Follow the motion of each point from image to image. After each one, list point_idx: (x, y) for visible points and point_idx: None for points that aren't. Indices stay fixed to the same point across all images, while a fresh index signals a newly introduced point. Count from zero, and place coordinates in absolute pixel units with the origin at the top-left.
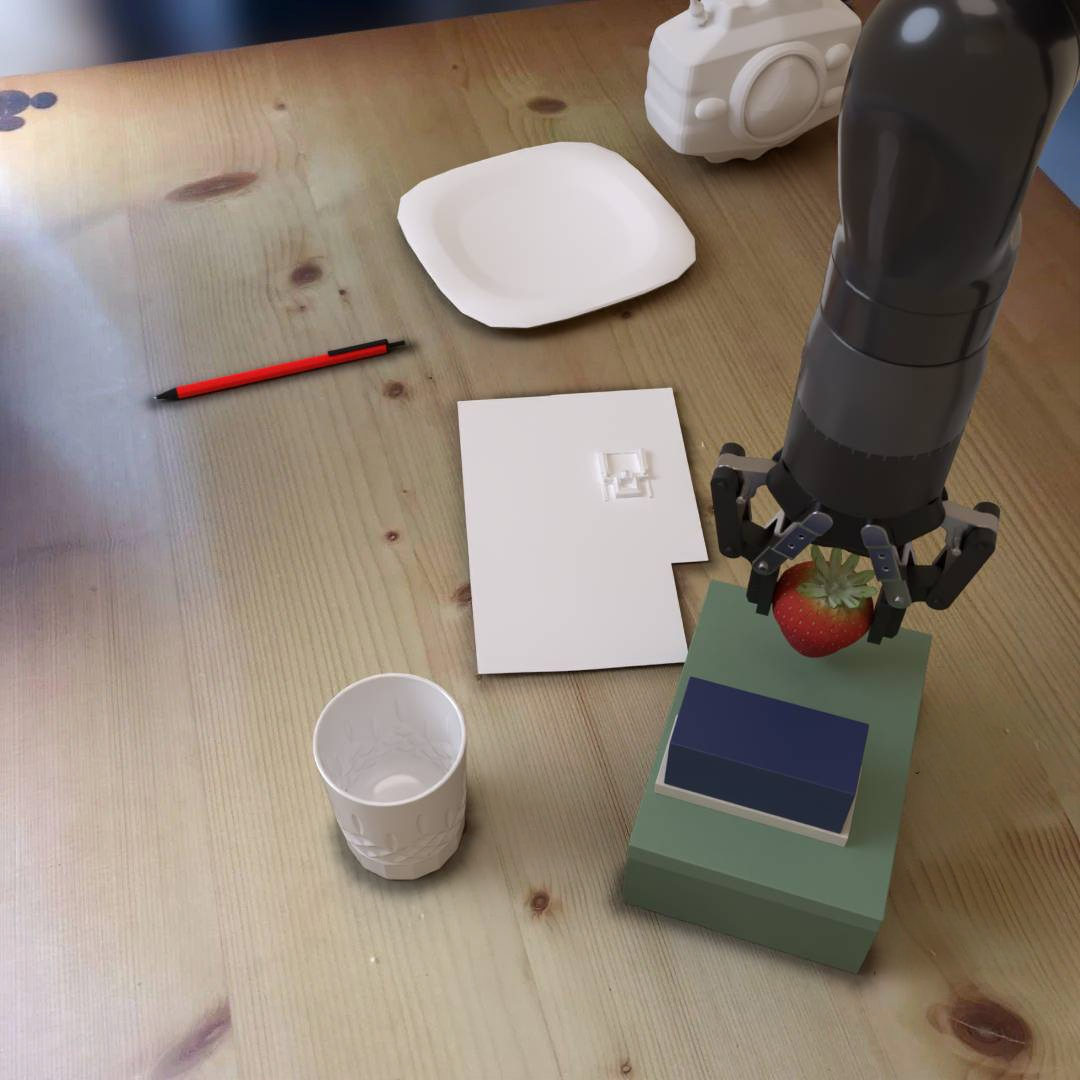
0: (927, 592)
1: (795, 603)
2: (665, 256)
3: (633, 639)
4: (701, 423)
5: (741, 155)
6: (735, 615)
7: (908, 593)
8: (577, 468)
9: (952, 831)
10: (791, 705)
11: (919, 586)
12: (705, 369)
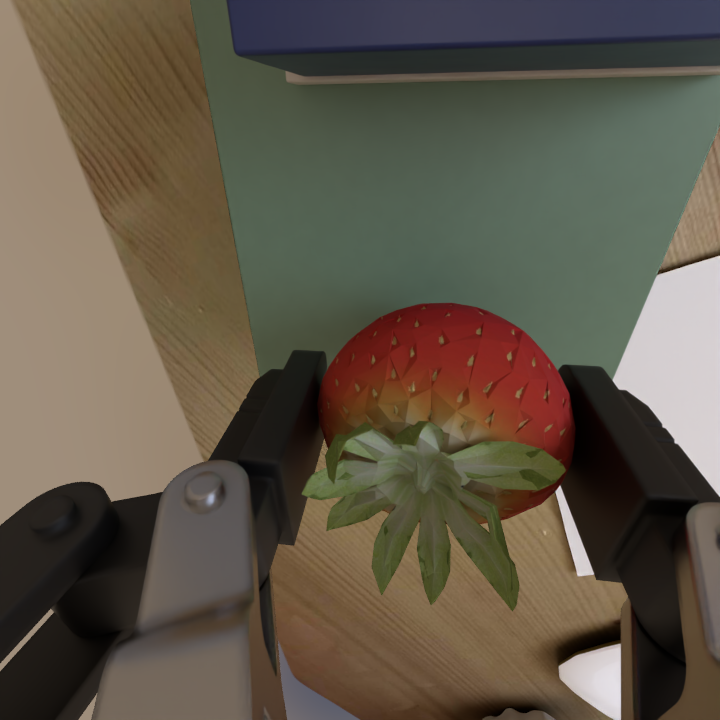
0: (99, 548)
1: (535, 412)
2: (587, 670)
3: (640, 317)
4: (546, 549)
5: (520, 717)
6: (557, 365)
7: (155, 538)
8: None
9: (208, 159)
10: (511, 33)
11: (129, 567)
12: (542, 588)
